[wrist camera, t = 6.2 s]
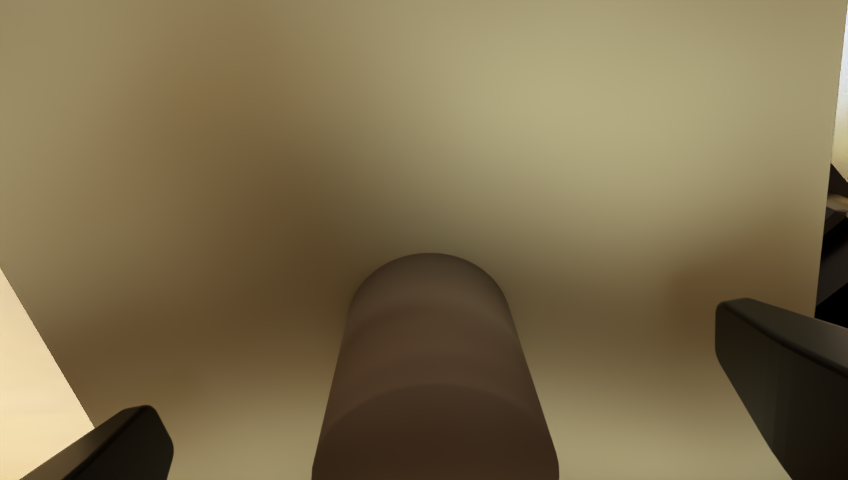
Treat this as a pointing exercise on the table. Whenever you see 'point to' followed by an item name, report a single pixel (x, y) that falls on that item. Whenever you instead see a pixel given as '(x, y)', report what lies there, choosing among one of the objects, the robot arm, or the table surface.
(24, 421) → the table surface
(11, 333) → the table surface
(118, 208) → the lid
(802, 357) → the robot arm
